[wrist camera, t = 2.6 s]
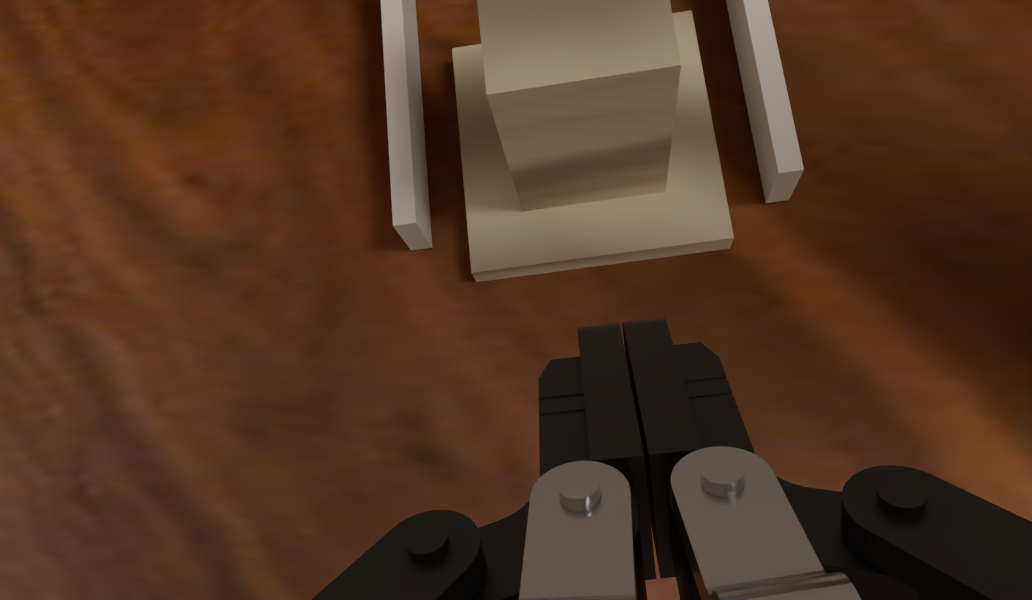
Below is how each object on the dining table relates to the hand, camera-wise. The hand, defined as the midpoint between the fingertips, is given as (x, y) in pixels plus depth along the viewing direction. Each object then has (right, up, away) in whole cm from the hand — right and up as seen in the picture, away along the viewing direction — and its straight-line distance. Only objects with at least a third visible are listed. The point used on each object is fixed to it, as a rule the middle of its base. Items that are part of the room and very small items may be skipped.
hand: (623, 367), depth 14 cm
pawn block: (+1, +7, +16) cm, 18 cm away
